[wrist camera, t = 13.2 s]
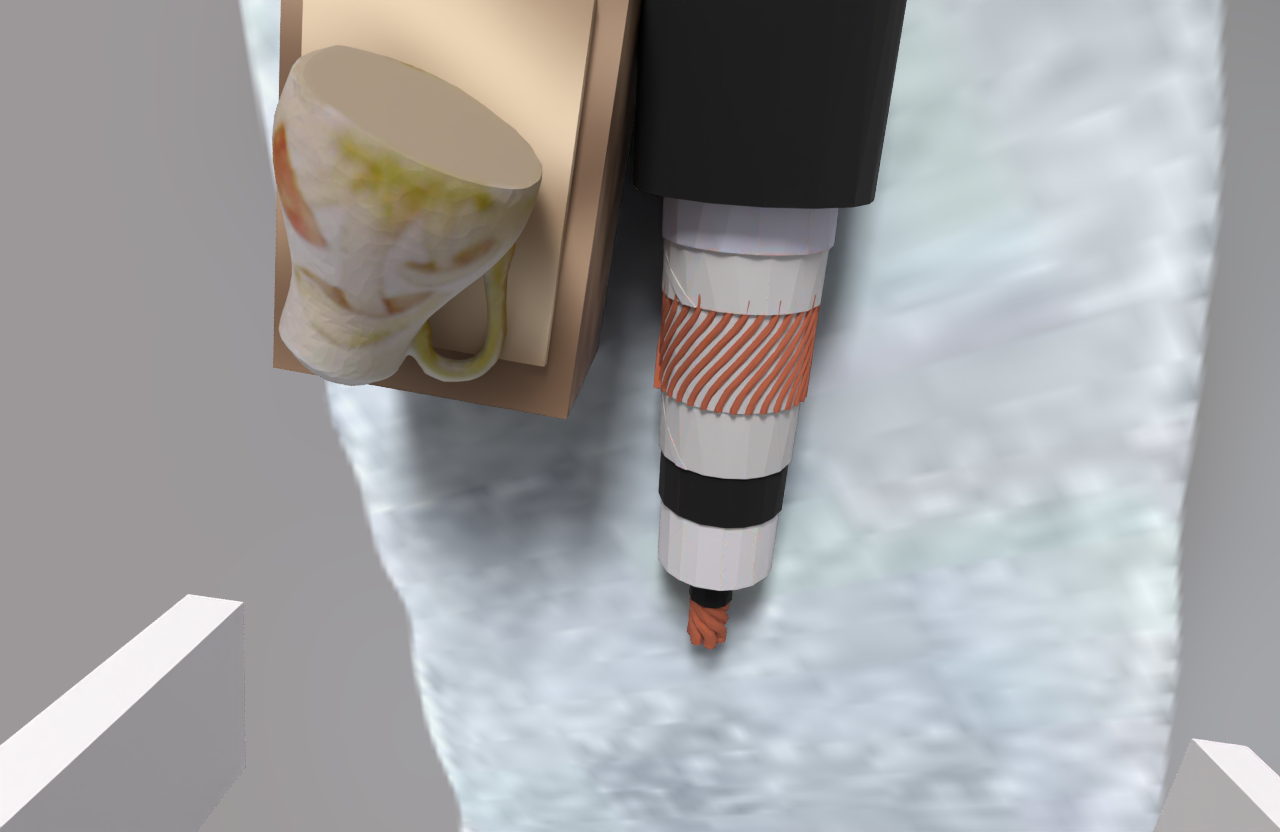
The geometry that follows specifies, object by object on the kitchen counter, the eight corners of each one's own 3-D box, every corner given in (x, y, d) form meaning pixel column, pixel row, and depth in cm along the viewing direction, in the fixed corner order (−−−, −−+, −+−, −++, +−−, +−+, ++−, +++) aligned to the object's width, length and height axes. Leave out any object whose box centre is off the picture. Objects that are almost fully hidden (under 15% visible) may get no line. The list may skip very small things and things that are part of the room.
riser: (597, 350, 39) (564, 424, 27) (391, 313, 39) (264, 371, 27) (650, 15, 34) (638, -77, 22) (414, -28, 34) (273, -145, 22)
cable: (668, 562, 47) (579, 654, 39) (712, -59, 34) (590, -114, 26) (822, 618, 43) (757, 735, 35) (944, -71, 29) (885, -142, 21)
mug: (263, 328, 26) (64, 181, 17) (446, 144, 28) (364, -84, 19) (418, 458, 26) (305, 383, 16) (596, 260, 28) (592, 85, 18)
